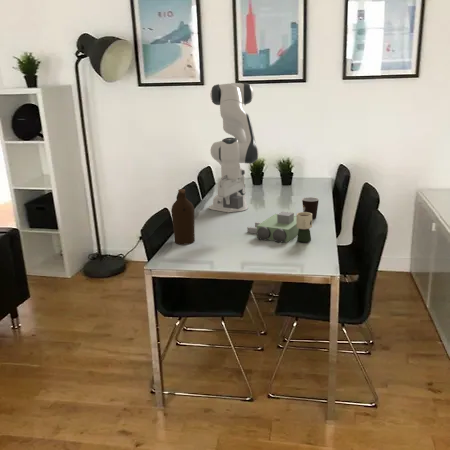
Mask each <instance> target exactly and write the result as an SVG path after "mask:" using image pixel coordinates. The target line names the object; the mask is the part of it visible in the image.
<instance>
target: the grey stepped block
mask: <svg viewBox="0 0 450 450" xmlns="http://www.w3.org/2000/svg"><path fill="white" fill-rule="evenodd" d="M229 199H230V200H231V204H226V200H225V198H223V207H224V208H233V209H239V208H241V207H243V196H236V195H235V193H233V194H231V195H230V197H229Z"/></svg>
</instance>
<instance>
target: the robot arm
mask: <svg viewBox="0 0 450 450" xmlns="http://www.w3.org/2000/svg"><path fill="white" fill-rule="evenodd" d="M253 98H254V89H253V88H252V85H251V84H250V83H246V82H244V83H241V82H239V83H238V82H231V83H222V84H219V83H218V84H215V85H213V86H212V87H211V90H210V100H211V102H212V104H214V105H216V106H219V111H220V112H219V114H220V116H221V118H222V129H223V131H224V132H225V133H226V134H228V135H230V136H231V137H226V138H222V140H220V141H216V142H213V143H212V144H211V147H210V150H209V151H210V155H211V157H212V159H214V161H216V162H218V163H219V165H220V170H221V177H220V179H219V181H218V184H217V194H216V196H214V198H213V200H212V204H210V205H209V207H208V209H209V210H212V211H218V212H224V213H235V212H236V213H237V212H243V211H246V210H248V209H249V206H248V204H247V198H246V184H245V180H246V177H245V174H246V171H245V169H243V168H242V167H241V165H240V164H249V165H251V164H254V163H255V162H256V161H257V160H258V158H259V148H258V146H257V143H256V138H255V135H254V130H253V125H252V121H251V117H250V116H249V113H247V112H245V111H244V109H243V108H244V107H243V105H244V106H246V105H248V104H250V103H251V102H252V100H253ZM233 193H235V195H236V196H243V207H241V208H239V209H233V208H224V207H223V198H225V200H226V204H231V200H230V199H229V197H230V195H231V194H233Z"/></svg>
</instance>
